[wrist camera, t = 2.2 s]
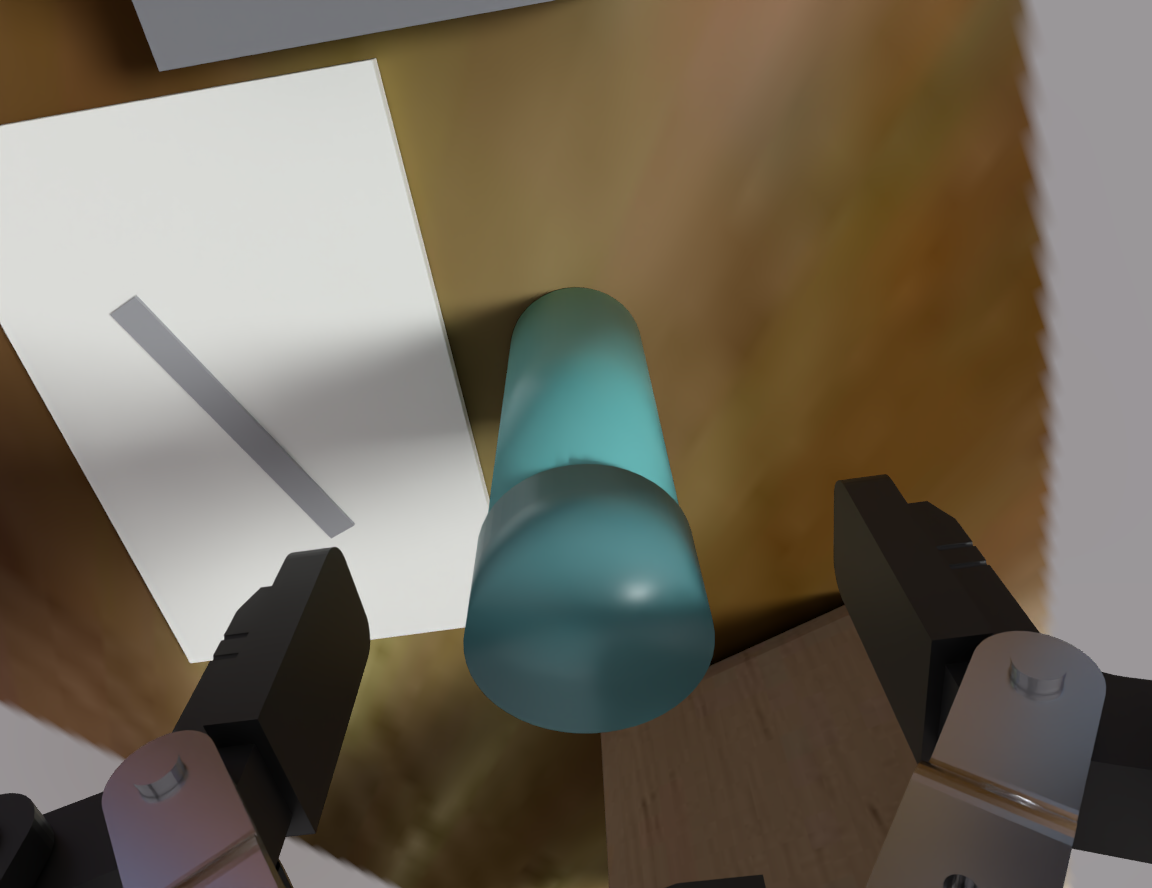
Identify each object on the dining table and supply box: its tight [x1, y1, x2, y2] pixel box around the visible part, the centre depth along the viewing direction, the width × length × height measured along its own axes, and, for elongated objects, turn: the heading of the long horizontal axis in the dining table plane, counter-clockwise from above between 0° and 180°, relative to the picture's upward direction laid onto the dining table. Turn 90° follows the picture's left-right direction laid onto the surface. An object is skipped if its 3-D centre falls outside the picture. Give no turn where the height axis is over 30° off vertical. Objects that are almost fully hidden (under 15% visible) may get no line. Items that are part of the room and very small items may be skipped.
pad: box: [0, 58, 490, 663], centre depth 20 cm, size 15×10×1 cm, turn 9°
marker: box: [464, 287, 715, 733], centre depth 15 cm, size 3×3×10 cm
